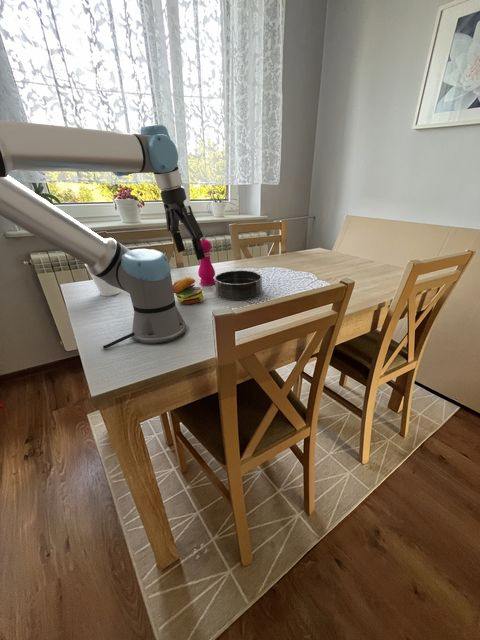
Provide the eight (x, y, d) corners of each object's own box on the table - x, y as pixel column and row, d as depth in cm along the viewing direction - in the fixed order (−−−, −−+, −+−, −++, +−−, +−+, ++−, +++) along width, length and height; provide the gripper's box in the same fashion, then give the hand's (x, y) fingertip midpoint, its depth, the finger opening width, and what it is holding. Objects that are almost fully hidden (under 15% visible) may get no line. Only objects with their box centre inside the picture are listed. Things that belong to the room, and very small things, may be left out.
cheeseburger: (199, 306, 106) (189, 280, 101) (174, 311, 109) (163, 285, 104) (209, 296, 114) (200, 271, 110) (185, 300, 117) (175, 276, 113)
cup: (87, 296, 116) (76, 265, 109) (108, 287, 125) (100, 257, 119) (111, 299, 113) (102, 267, 106) (132, 289, 122) (124, 259, 116)
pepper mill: (208, 287, 125) (203, 237, 115) (196, 284, 128) (190, 236, 118) (219, 282, 130) (215, 235, 120) (207, 280, 133) (202, 233, 123)
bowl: (235, 304, 107) (234, 287, 104) (207, 292, 119) (205, 276, 116) (271, 293, 118) (271, 277, 115) (242, 282, 130) (241, 268, 127)
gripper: (202, 186, 84) (219, 258, 97) (163, 183, 99) (182, 245, 113) (180, 193, 80) (200, 266, 93) (143, 188, 96) (165, 251, 109)
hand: (191, 254), depth 103 cm, fingers open, 13 cm apart
